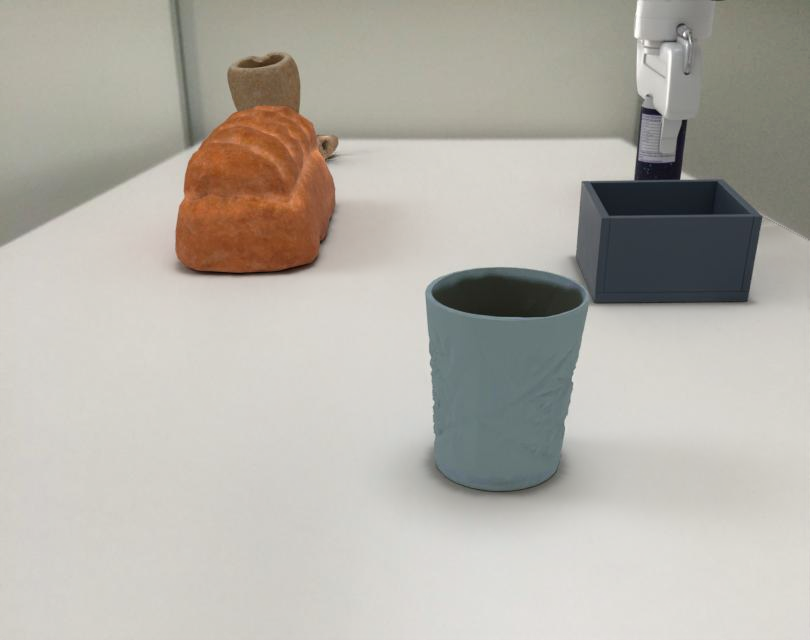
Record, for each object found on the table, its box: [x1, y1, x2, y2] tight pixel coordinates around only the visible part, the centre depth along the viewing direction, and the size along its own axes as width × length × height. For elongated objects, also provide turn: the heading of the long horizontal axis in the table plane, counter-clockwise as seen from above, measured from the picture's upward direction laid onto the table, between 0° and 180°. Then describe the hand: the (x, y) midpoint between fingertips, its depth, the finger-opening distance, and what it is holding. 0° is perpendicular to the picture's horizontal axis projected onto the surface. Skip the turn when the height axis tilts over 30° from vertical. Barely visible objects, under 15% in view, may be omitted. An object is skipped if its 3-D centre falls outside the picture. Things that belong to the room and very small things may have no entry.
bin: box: [575, 178, 763, 304], centre depth 97 cm, size 15×15×8 cm
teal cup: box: [424, 266, 591, 492], centre depth 63 cm, size 10×10×12 cm
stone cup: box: [226, 51, 340, 160], centre depth 145 cm, size 15×12×15 cm
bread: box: [174, 106, 336, 274], centre depth 112 cm, size 16×31×13 cm, turn 178°
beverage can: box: [633, 94, 689, 180], centre depth 120 cm, size 6×6×12 cm
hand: (660, 146), depth 120 cm, fingers closed on beverage can, 5 cm apart
